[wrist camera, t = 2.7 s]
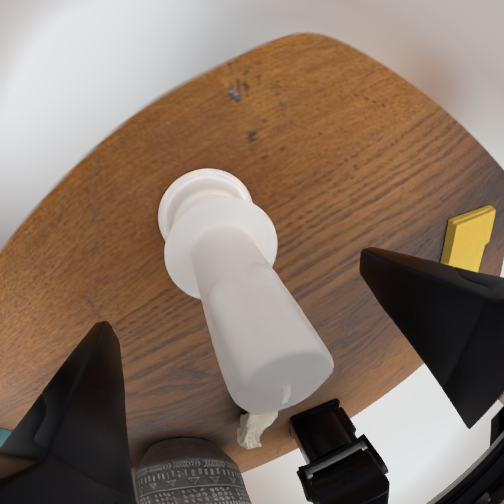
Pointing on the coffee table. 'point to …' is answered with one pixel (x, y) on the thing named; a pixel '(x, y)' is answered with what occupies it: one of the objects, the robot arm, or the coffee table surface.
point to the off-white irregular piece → (253, 428)
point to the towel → (468, 238)
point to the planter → (188, 474)
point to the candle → (240, 291)
